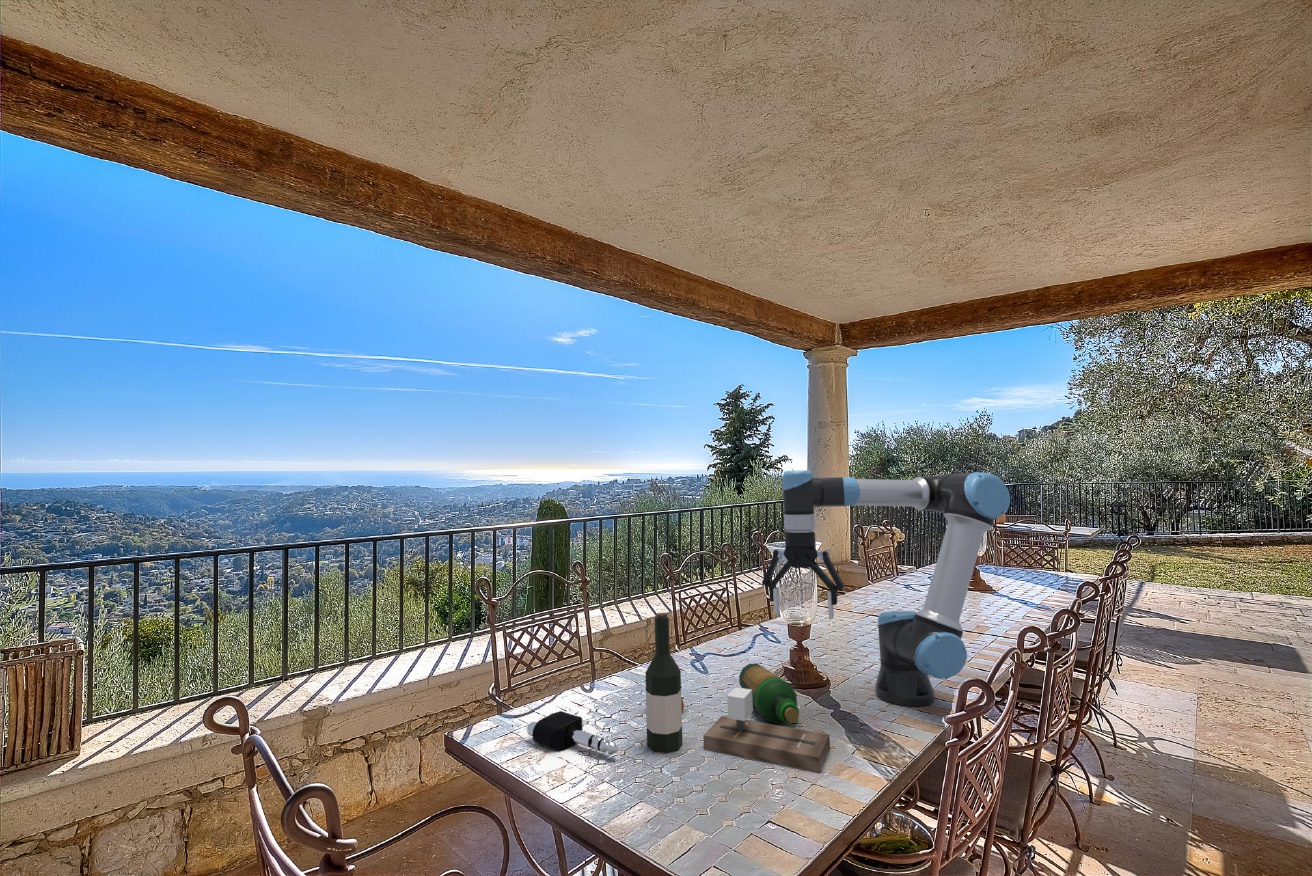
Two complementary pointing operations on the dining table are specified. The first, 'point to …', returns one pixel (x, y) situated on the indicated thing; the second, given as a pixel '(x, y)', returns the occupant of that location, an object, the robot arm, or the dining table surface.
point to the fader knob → (740, 706)
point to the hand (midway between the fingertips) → (803, 616)
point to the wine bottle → (663, 694)
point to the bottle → (770, 694)
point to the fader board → (769, 743)
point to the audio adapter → (566, 733)
